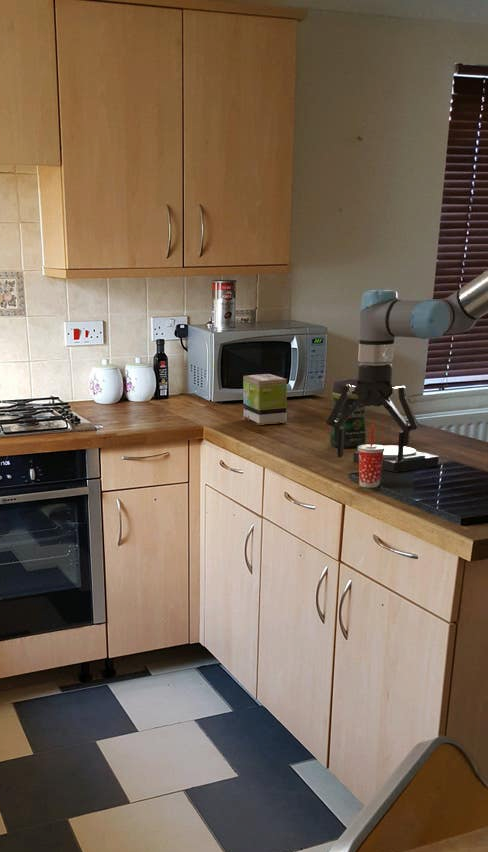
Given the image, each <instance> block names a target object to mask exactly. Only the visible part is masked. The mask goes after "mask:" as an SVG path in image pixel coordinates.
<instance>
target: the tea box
mask: <svg viewBox="0 0 488 852" xmlns="http://www.w3.org/2000/svg"><path fill="white" fill-rule="evenodd" d="M242 379H243V380H242V381H243V382H242V384H243V386H242V387H243V391H242V392H243V417H244V416H245V417H247V418H249V419H251V420H253V421H255V422H257V423H269V422H281V421H286V422H287V409H288V407H287V406H288V404H287V403H288V402H287V400H288V399H287V396H288V393H287V389H288V380H287V378H284V377H281V376H278V375H274V374H271V373H263V374H262V373H261V374H251V375H250V374H249V375H243V377H242Z"/></svg>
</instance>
